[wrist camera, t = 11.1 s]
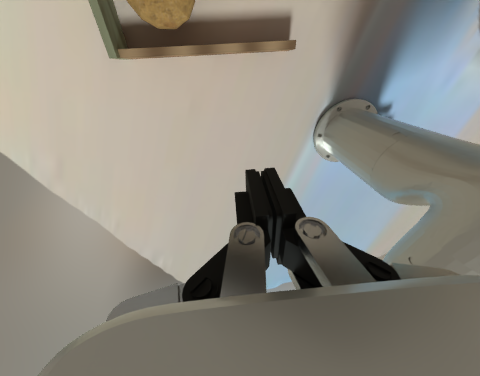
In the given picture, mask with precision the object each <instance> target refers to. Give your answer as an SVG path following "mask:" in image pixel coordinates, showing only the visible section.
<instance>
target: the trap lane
mask: <svg viewBox="0 0 480 376" xmlns="http://www.w3.org/2000/svg"><path fill="white" fill-rule="evenodd" d="M88 1H89V3H90V6H91V9H92V12H93V14H94V17H95V20H96V23H97V25H98V28H99V31H100V34H101V36H102V39H103V42H104V44H105V47H106V50H107V53H108V55H109V58H112V59H143V58H161V57H180V56H199V55H217V54H236V53H254V52H273V51H289V50H293V49H295V47H296V40H288V41H269V42H249V43H230V44H211V45H191V46H172V47H153V48H133V49H128V48H127V44H126V41H125V38H124V35H123V31H122V28H121V25H120V22H119V19H118V15H117V12H116V9H115V6H114V3H113V0H88Z"/></svg>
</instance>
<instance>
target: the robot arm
mask: <svg viewBox="0 0 480 376" xmlns="http://www.w3.org/2000/svg"><path fill="white" fill-rule="evenodd" d="M337 108H338V109H337ZM318 134H319V135H318ZM314 147H315V149H316V151H317V153H318V154H319V155H320V156H321V157H322V158H324V159H325V160H328V161H332V162H341V163H342V164H343V165H344V166H346V167H347V168H348V169H349V170H351V171H352V172H353V173H354V174H355V175H357V176H358V177H359V178H360V179H362V180H363V181H364V182H365V183H366V184H368V185H369V186H370V187H371V188H373V189H374V190H375V191H376V192H378V193H379V194H380V195H381V196H383V197H384V198H386V199H388V200H390V201H392V202H395V203H399V204H405V205H416V206H430V208H429V210H428V211H427V212H426V213H425V215H424V216H423V217H422V218H421V219H420V221H419V222H418V223H417V224H416V225H414V226H413V227H412V228H411V229H410V230H409V231H408V232H407V233H406V234H405V235H404V236H403V237H402V238H401V239H400V240H399V241H398V242H397V243H396V244H395V245H394V246H393V247H392V248H391V250H390V251H389V252H388V253H387V254H386V256H385V258H384V260H383V261H382V260H380V259H378V258H376V257H374V256H372V255H370V254H368V253H366V252H363V251H361V250H359V249H357V248H355V247H353V246H351V245H349V244H346V243H344V242H342V241H341V240H340V239H339V238H338V236H337V235H336V234H335V233H334V232H333V231H332V230H331V228H330V227H329V226H328V225H327V224H326V223H325V222H323V221H321V220H320V219H317V218H313V217H306V215H305V214H304V212H303V210H302V208H301V206H300V205H299V203H298V201H297V199H296V197H295V195H294V194H293V192H292V190H291V189H290V188H284V186H283V184H282V182H281V180H280V178H279V176H278V174H277V172H276V170H275V168H265V169H264V171H261V176H260V173H259V171H257V172H256V171H255V169H251V170H246V192H235V202H236V215H237V225H236V226H234V227H233V229H232V230H231V232H230V237H229V243H228V244H227V245H225V246H224V247H223V248H222V249H221V250H220V251H219V252H218V253H217V254H216V255H214V256H213V257H212V258H211V259H210V260H209V261H208V262H207V263H206V264H205V265H203V266H202V267H201V268H200V269H199V270H198V271H197V272H196V273H195V274H194V275H193V276H191V277H190V278H189V280H188V281H187V282H186V283H184V284H181V285H178V283H176V284H173V285H170V286H167V287H164V288H161V289H158V290H155V291H151V292H148V293H145V294H142V295H139V296H136V297H133V298H130V299H127V300H125V301H123V302H121V303H120V304H119V305H118V306H116V307H115V308H114V309H113V310H112V312H111V313H110V314H109V316H108V318H107V320H106V322H104V323H102V324H101V325H99V326H97V327H95V328H93V329H92V330H89V331H88V332H86V333H85V334H83V335H81V336H80V337H79V338H77V339H75V340H74V341H72V342H71V343H70V344H68V345H67V346H66V347H65V348H63V349H62V350H61V351H60V352H59V353H57V355H56V356H55V357H54V358H53V359H52V360H51V361H50V362H49V363H48V364H47V365H46V366H45V367H44V369H43V370H42V371H41V372H40V373H39V375H38V376H480V145H479V144H475V143H471V142H468V141H464V140H460V139H456V138H453V137H449V136H446V135H443V134H440V133H436V132H433V131H429V130H426V129H423V128H420V127H416V126H413V125H410V124H407V123H404V122H400V121H397V120H394V119H391V118H387V117H384V116H381V115H378V112H377V110H376V108H375V107H374V106H373V104H371V103H370V102H368V101H366V100H362V99H348V100H344V101H342V102H340V103H337V104H336V105H334V106H333V107H331V108H330V109H329V110H328V111H327V112H326V113H325V114H324V115H323V116H322V118H321V119H320V121H319V123H318V124H317V127H316V129H315V133H314ZM270 252H271V254H272V258H276V260H277V263H278V265H279V264H282V265H283V266H284V267H286V268H288V273H289V276H290V278H291V280H292V282H293V284H294V286H295V288H296V290H289V291H279V292H270V293H266V272H265V271H266V270H267V268H268V267H269V262H270Z"/></svg>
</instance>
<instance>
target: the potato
mask: <svg viewBox="0 0 480 376" xmlns="http://www.w3.org/2000/svg"><path fill="white" fill-rule="evenodd" d="M127 1H128V3H129V4H130V6H131V7H132V8H133V9H134V10H135V12H136V13H137V14H138V15H139V16H140V17H141V19H142V20H144V21H146V22H148V23H149V24H151V25H153V26H155V27H156V28H158V29H177V28H178V27H180V26H181V25H182V24H183V23H185V22H186V21H187V20H189V18H190V15H191V12H192V9H193V6H194V3H195V0H127Z"/></svg>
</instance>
